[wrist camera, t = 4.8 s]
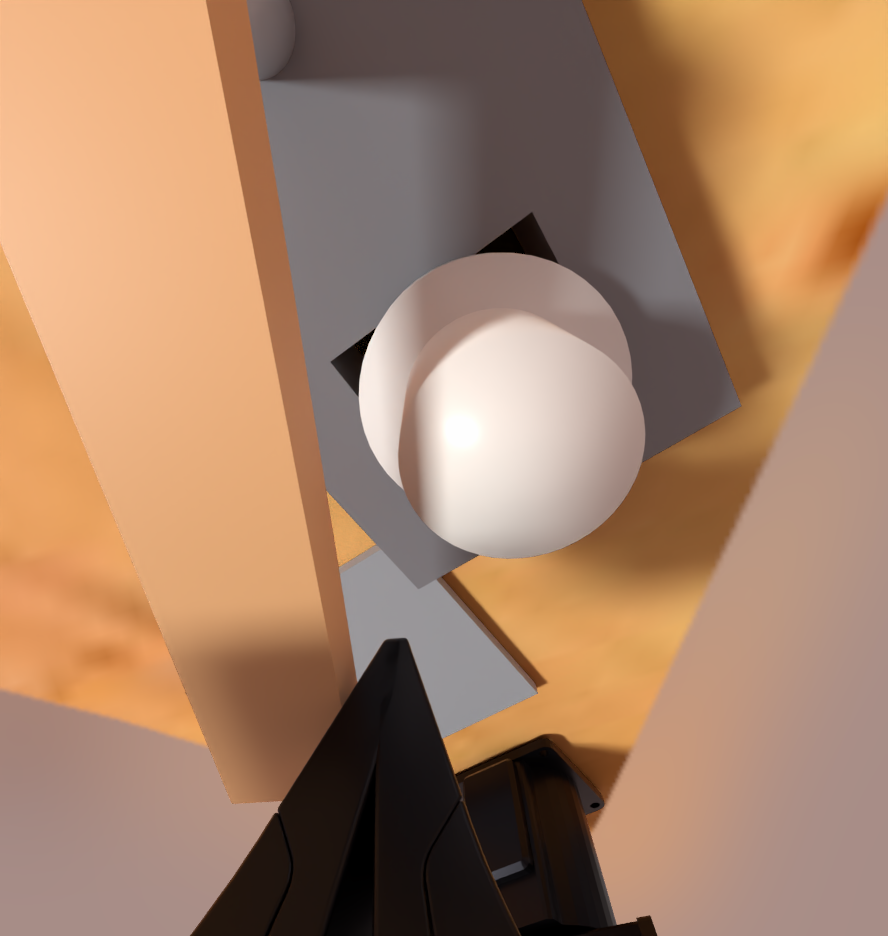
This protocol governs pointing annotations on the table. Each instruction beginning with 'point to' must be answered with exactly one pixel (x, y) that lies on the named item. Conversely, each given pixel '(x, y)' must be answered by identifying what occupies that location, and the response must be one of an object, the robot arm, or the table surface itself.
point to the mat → (431, 641)
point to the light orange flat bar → (181, 351)
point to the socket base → (462, 205)
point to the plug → (504, 404)
